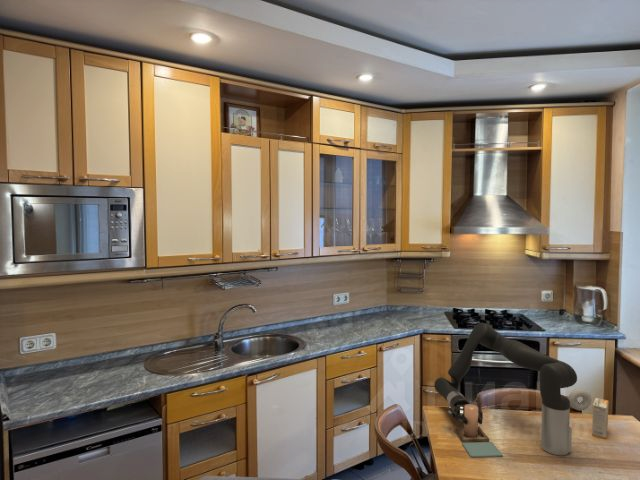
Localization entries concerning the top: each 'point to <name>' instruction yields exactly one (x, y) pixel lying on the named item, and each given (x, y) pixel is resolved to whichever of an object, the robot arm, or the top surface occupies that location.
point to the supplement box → (600, 418)
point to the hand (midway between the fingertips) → (473, 422)
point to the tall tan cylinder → (471, 421)
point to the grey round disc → (585, 401)
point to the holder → (472, 440)
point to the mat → (482, 449)
